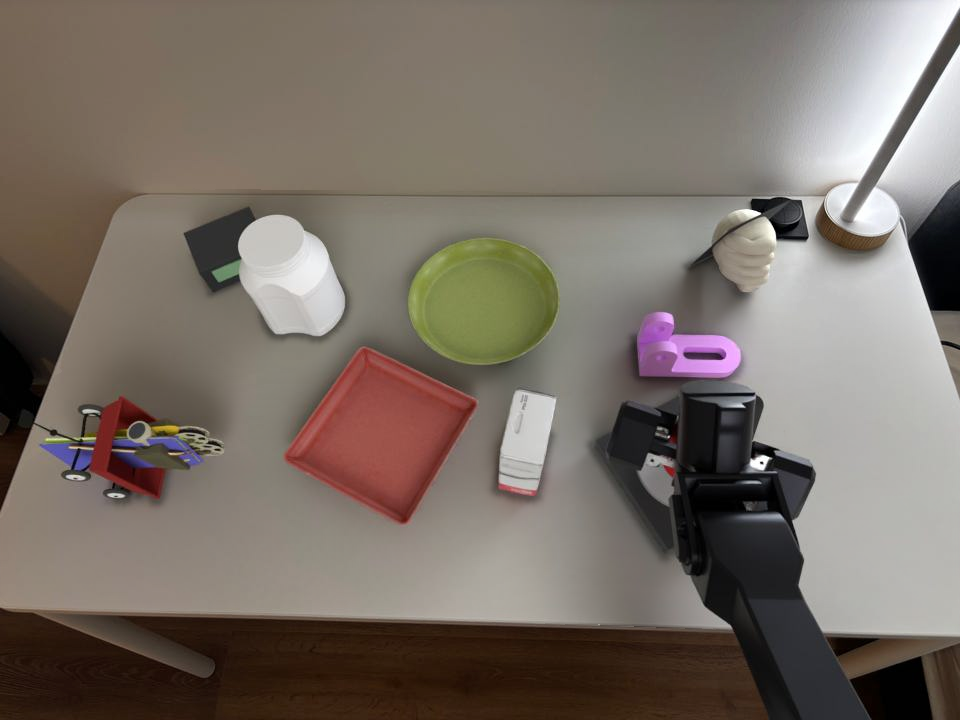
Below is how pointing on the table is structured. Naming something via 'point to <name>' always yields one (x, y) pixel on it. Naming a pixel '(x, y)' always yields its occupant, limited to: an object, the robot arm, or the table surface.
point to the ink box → (525, 441)
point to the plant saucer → (382, 434)
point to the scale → (648, 489)
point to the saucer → (483, 301)
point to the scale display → (219, 248)
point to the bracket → (681, 351)
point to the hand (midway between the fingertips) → (703, 430)
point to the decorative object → (744, 247)
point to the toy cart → (127, 448)
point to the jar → (290, 277)
